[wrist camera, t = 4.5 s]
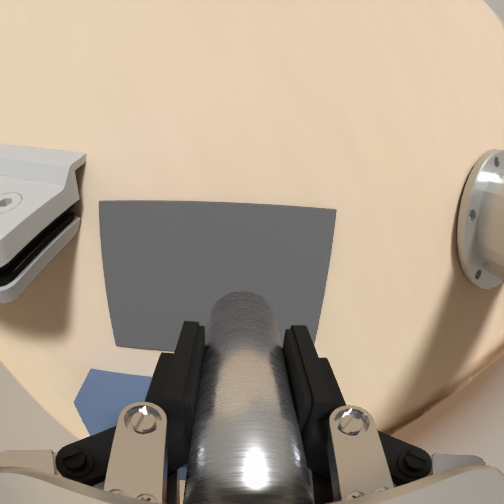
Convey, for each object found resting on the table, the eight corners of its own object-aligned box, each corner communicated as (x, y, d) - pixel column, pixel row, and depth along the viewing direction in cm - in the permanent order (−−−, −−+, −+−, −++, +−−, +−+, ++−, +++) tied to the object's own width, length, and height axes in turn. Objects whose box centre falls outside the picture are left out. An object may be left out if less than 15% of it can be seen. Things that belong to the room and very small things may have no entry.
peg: (278, 292, 13) (339, 525, 3) (271, 346, 13) (304, 550, 4) (209, 289, 12) (168, 529, 3) (209, 344, 13) (187, 551, 4)
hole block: (292, 379, 20) (304, 417, 17) (276, 447, 23) (283, 478, 20) (90, 368, 19) (73, 402, 15) (118, 439, 22) (110, 469, 18)
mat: (334, 209, 17) (336, 210, 16) (311, 348, 20) (312, 351, 19) (100, 200, 15) (98, 201, 15) (117, 343, 18) (115, 345, 18)
